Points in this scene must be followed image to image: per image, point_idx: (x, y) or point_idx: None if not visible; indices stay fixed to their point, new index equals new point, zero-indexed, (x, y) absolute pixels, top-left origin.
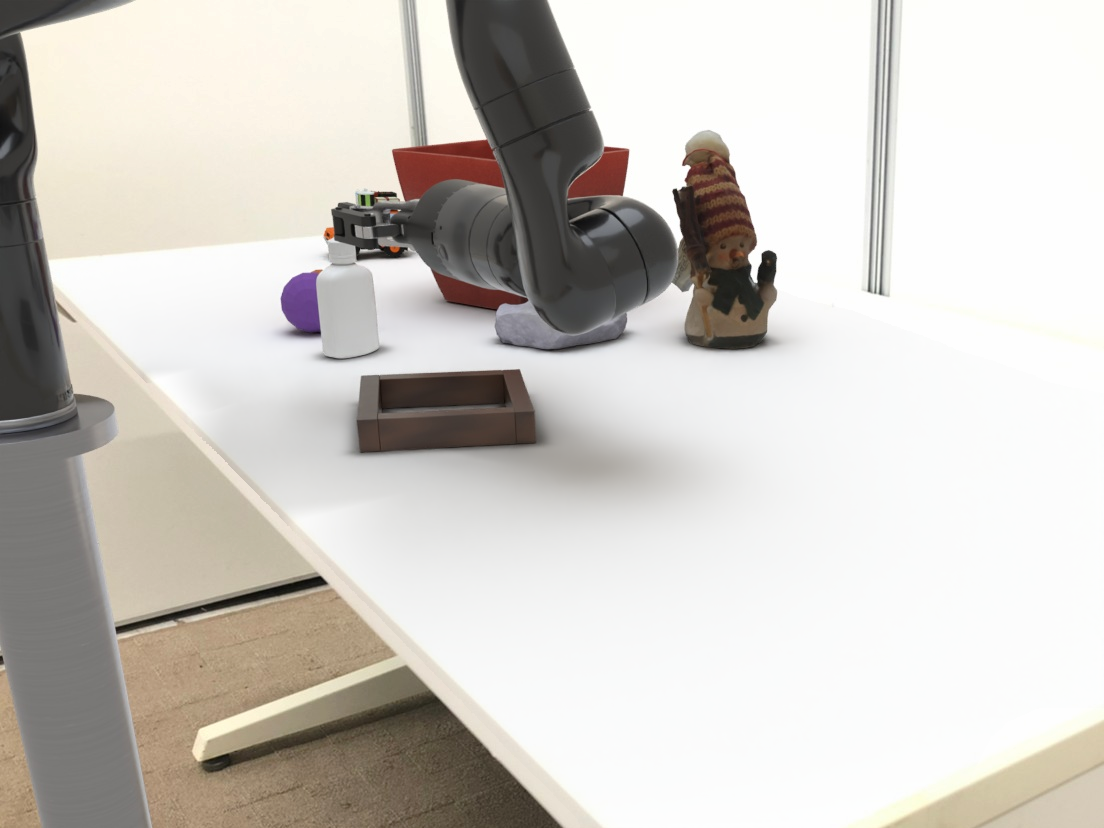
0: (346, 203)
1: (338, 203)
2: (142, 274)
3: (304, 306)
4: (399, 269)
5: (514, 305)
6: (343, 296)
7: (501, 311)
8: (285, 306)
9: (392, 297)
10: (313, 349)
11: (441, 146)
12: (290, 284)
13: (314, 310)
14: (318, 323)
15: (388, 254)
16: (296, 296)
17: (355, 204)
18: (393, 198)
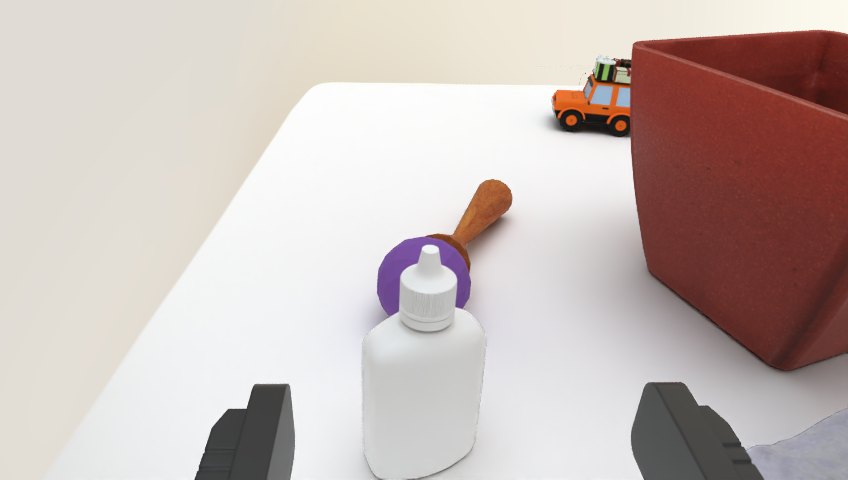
0: (255, 422)
1: (255, 385)
2: (365, 116)
3: (397, 304)
4: (614, 162)
5: (780, 465)
6: (401, 393)
7: None
8: (377, 287)
9: (578, 233)
10: None
11: (719, 40)
12: (391, 258)
13: None
14: None
15: (611, 131)
16: (390, 284)
17: (264, 464)
18: None
